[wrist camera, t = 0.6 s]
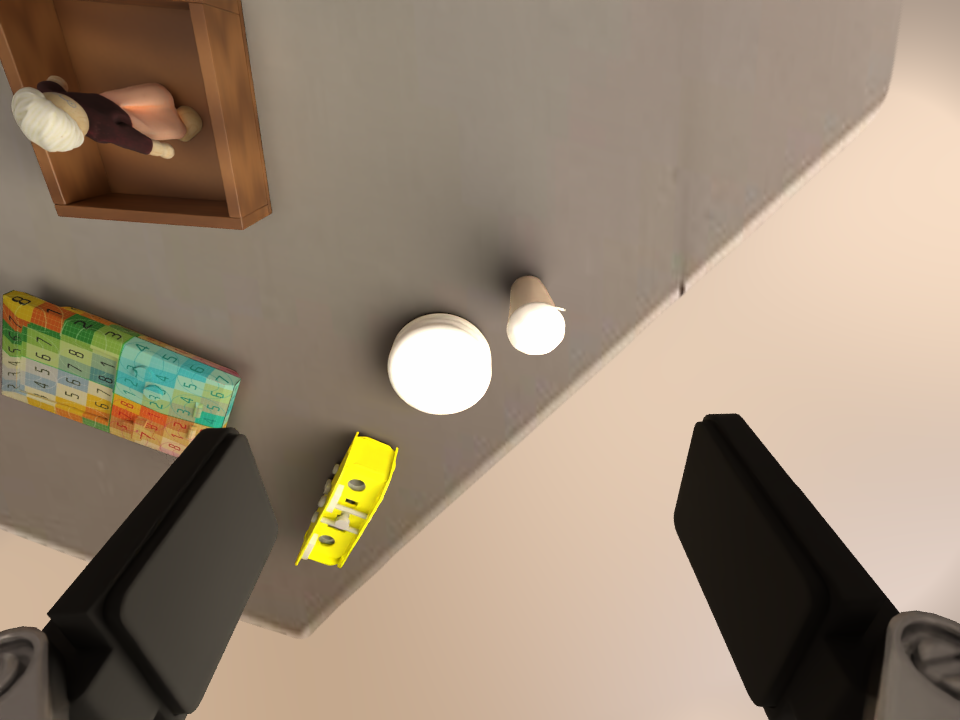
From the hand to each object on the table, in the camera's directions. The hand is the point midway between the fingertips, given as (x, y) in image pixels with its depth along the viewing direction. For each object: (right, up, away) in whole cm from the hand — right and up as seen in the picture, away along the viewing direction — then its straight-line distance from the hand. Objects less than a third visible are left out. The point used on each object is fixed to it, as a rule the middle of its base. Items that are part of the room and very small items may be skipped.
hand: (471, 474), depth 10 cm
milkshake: (+5, +9, +34) cm, 35 cm away
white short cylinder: (-4, +3, +38) cm, 38 cm away
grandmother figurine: (-24, +22, +26) cm, 42 cm away
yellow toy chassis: (-15, -12, +46) cm, 50 cm away
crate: (-24, +22, +27) cm, 42 cm away
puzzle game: (-35, +2, +39) cm, 52 cm away
